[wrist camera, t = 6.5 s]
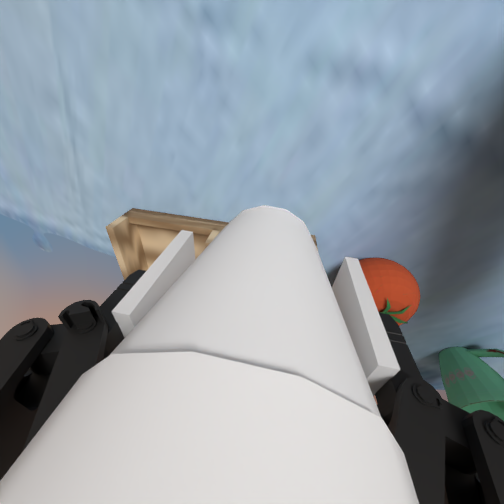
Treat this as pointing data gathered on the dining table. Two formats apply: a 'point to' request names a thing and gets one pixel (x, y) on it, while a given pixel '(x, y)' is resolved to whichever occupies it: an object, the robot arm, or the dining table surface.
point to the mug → (472, 380)
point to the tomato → (391, 288)
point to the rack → (156, 236)
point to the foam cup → (224, 393)
